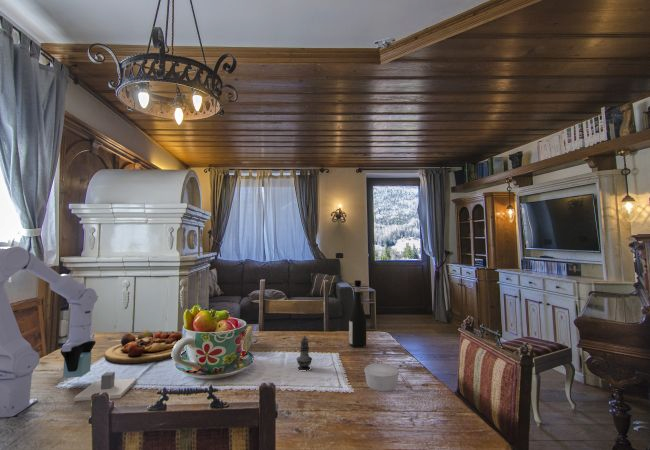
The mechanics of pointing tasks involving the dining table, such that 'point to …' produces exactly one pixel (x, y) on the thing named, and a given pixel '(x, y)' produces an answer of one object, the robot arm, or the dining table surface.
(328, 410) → the dining table surface
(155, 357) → the wooden plate with food
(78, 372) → the pale blue cube
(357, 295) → the wine bottle
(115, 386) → the post stand
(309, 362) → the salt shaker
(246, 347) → the candy box
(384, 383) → the ramekin
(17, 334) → the robot arm
